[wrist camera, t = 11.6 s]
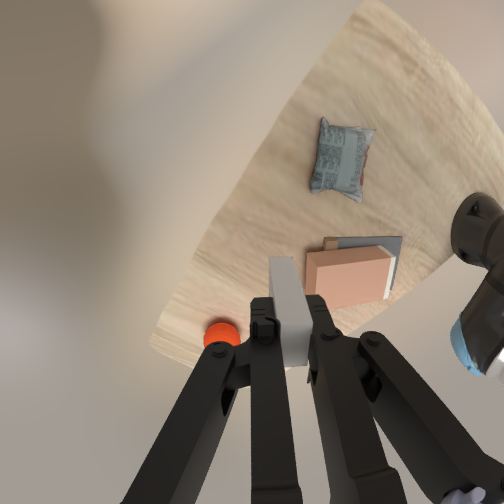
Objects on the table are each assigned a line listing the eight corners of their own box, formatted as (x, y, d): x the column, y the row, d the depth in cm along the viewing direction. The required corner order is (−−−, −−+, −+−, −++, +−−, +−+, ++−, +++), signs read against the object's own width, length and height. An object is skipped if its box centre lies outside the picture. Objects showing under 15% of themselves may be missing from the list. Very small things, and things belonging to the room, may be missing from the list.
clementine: (241, 346, 55) (240, 371, 48) (207, 345, 55) (203, 370, 48) (241, 315, 51) (240, 340, 45) (204, 314, 51) (198, 339, 45)
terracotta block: (306, 252, 44) (380, 245, 45) (304, 295, 47) (374, 284, 48) (317, 267, 39) (396, 257, 41) (313, 312, 43) (387, 298, 44)
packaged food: (369, 130, 38) (382, 130, 33) (355, 200, 43) (366, 208, 38) (317, 117, 37) (325, 115, 33) (304, 191, 42) (311, 198, 38)
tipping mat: (401, 236, 45) (405, 239, 44) (390, 288, 49) (393, 292, 48) (324, 237, 45) (326, 241, 44) (319, 294, 50) (320, 298, 48)
